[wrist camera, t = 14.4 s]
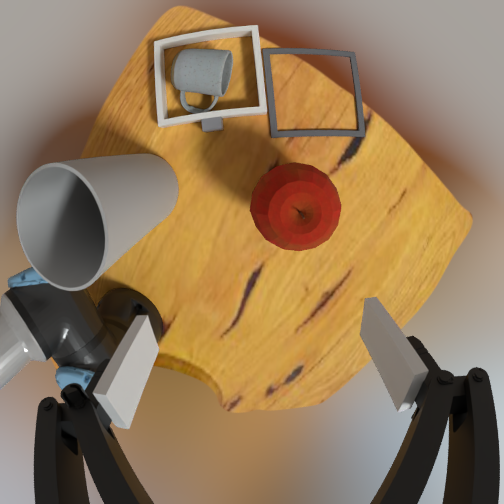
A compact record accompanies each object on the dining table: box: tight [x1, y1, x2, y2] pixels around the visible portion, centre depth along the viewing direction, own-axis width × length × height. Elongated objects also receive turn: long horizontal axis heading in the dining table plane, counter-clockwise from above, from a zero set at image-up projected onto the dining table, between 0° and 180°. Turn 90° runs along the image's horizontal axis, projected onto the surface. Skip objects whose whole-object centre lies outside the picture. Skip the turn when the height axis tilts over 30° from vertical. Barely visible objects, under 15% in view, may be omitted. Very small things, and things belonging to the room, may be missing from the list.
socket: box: [154, 25, 267, 132], centre depth 36 cm, size 17×18×2 cm
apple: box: [250, 162, 341, 251], centre depth 38 cm, size 12×12×14 cm
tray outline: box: [263, 48, 365, 138], centre depth 38 cm, size 16×16×1 cm
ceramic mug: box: [171, 49, 233, 114], centre depth 34 cm, size 11×8×8 cm
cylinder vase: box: [16, 153, 179, 291], centre depth 32 cm, size 12×12×25 cm
